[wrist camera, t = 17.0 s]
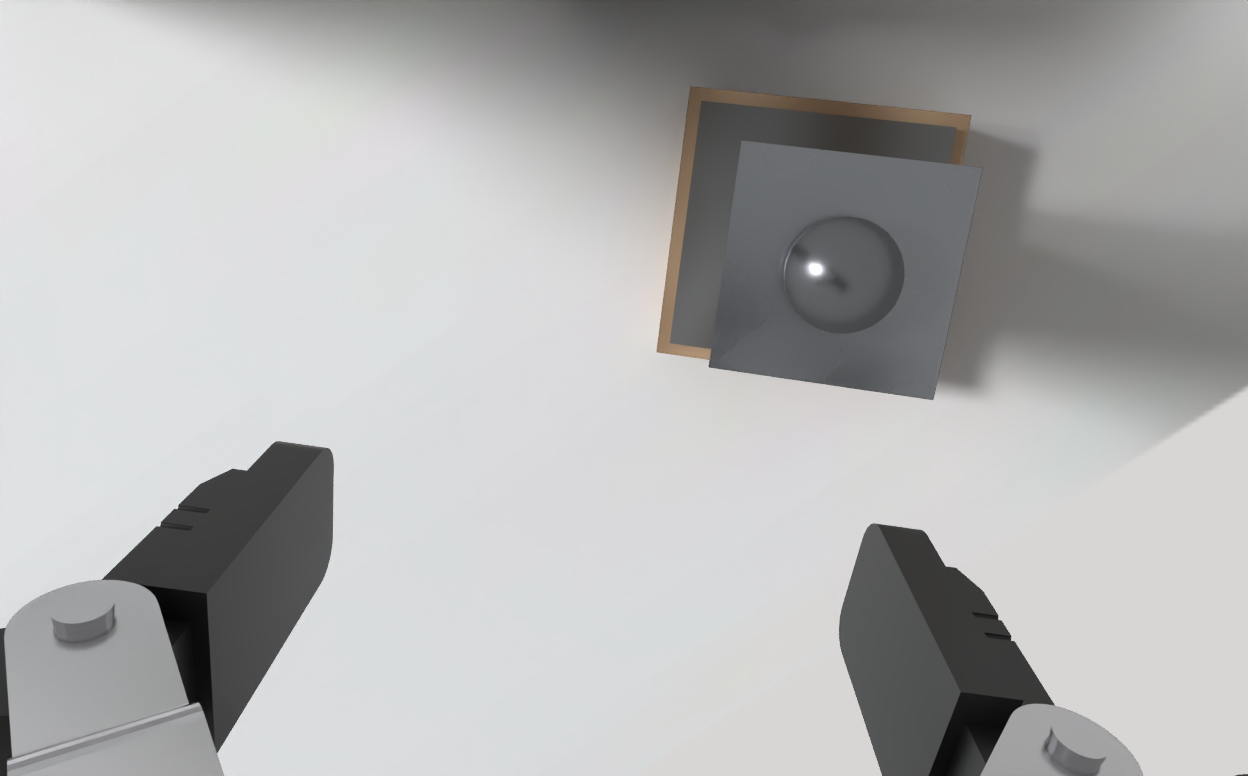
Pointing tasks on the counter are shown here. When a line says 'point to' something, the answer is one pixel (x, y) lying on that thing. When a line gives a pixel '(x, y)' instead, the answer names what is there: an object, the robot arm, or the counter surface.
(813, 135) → the stand
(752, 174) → the block
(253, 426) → the counter surface
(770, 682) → the counter surface
